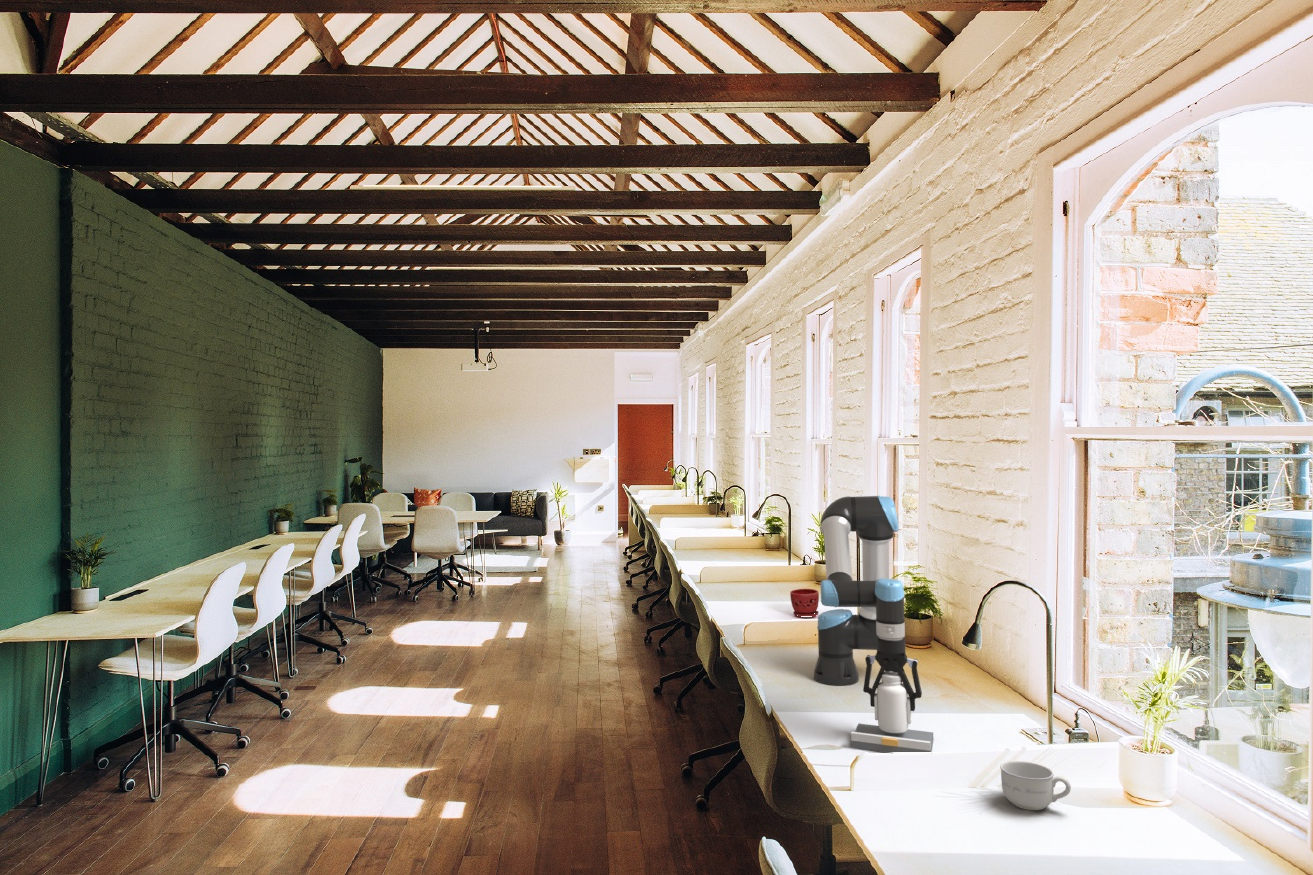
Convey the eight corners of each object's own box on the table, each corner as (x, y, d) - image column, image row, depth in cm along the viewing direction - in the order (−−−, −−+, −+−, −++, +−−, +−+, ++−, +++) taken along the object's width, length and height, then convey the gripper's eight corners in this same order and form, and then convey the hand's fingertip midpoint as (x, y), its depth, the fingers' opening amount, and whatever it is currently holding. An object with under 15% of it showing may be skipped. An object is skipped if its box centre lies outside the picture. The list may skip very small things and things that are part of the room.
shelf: (858, 730, 213) (858, 716, 213) (933, 739, 205) (933, 724, 205) (851, 748, 200) (850, 733, 200) (930, 759, 192) (930, 743, 192)
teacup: (993, 804, 168) (992, 768, 168) (1012, 788, 176) (1011, 754, 176) (1061, 826, 158) (1059, 788, 158) (1077, 807, 166) (1076, 771, 166)
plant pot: (803, 611, 362) (802, 587, 362) (825, 616, 352) (824, 590, 352) (785, 616, 354) (784, 590, 354) (807, 620, 344) (806, 594, 344)
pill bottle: (873, 729, 204) (871, 674, 204) (885, 720, 210) (883, 667, 210) (901, 736, 199) (900, 680, 199) (913, 727, 205) (911, 672, 205)
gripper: (850, 637, 206) (852, 720, 205) (929, 643, 197) (932, 730, 197) (854, 630, 213) (856, 711, 212) (931, 636, 204) (934, 720, 204)
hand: (893, 720), depth 205 cm, fingers closed on pill bottle, 8 cm apart
